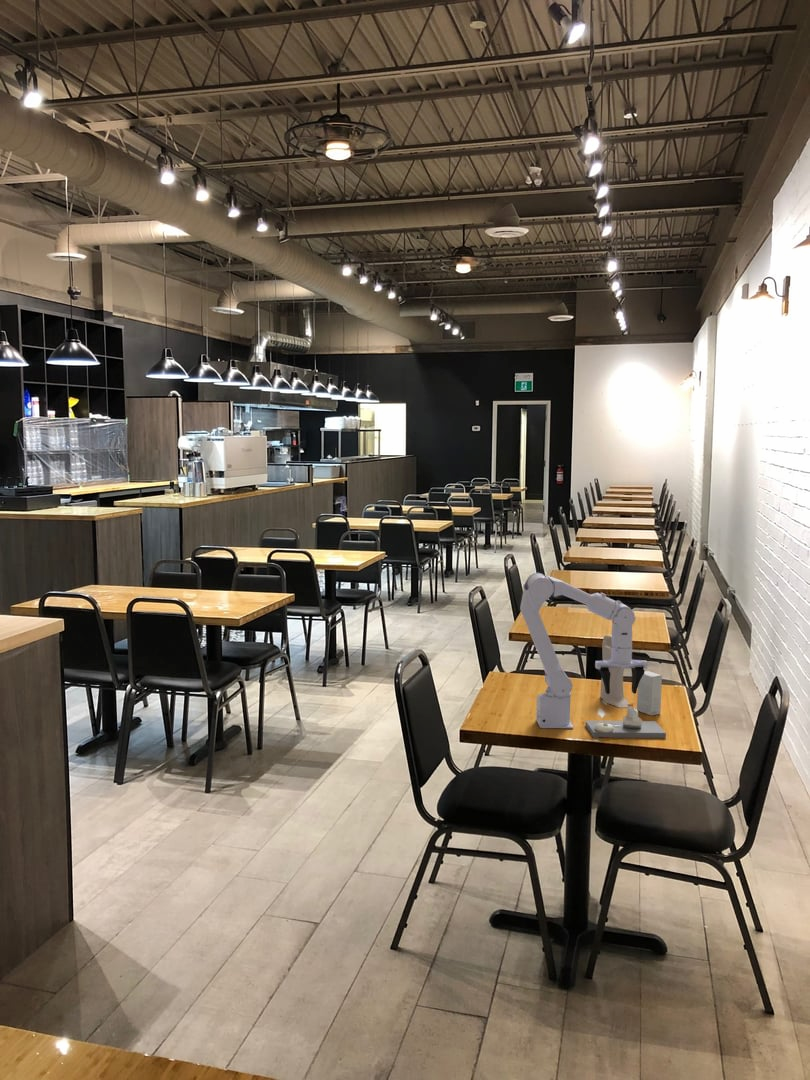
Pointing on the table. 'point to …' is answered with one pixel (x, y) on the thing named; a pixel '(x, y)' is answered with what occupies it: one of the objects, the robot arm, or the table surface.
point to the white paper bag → (613, 679)
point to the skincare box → (649, 693)
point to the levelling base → (624, 730)
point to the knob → (632, 718)
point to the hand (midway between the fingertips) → (620, 692)
